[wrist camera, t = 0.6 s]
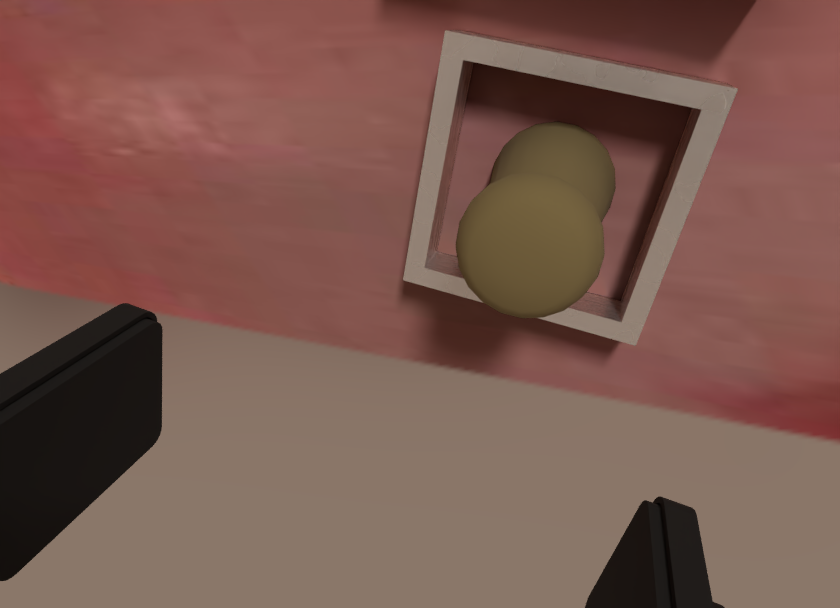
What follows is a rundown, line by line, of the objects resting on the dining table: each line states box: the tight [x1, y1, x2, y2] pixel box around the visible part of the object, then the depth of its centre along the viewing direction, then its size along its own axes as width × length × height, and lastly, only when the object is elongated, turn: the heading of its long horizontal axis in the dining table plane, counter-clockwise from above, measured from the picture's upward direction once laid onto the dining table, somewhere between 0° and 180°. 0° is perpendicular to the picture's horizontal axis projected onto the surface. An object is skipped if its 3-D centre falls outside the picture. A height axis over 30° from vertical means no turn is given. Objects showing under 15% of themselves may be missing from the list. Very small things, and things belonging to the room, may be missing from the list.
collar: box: [403, 30, 738, 346], centre depth 28 cm, size 12×12×2 cm
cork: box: [456, 122, 615, 318], centre depth 24 cm, size 6×6×11 cm
